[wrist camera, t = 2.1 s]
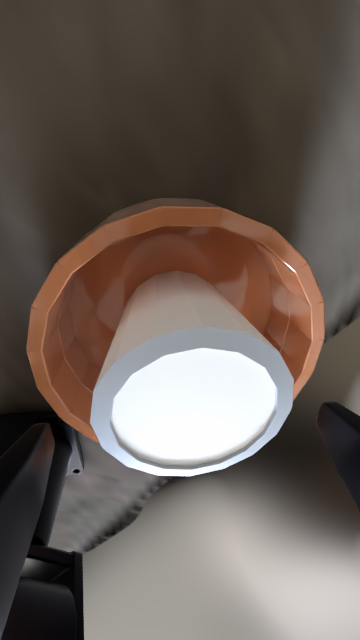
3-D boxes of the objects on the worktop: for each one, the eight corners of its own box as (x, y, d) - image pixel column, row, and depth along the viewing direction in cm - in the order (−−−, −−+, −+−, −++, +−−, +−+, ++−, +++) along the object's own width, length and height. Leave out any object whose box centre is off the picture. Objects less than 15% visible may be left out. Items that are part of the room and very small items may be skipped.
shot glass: (257, 316, 15) (331, 408, 9) (173, 384, 17) (189, 499, 11) (177, 229, 12) (208, 278, 6) (86, 321, 14) (41, 429, 8)
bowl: (258, 389, 19) (288, 445, 15) (79, 401, 17) (59, 466, 13) (301, 201, 13) (370, 210, 9) (36, 193, 11) (-20, 201, 8)
